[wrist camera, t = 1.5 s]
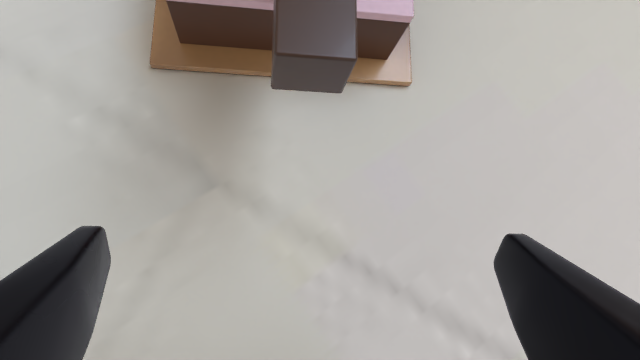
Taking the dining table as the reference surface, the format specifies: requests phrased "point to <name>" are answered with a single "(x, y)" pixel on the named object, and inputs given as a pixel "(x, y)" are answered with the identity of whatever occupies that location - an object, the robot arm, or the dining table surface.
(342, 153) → the dining table surface
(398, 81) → the cake board
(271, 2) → the cake
